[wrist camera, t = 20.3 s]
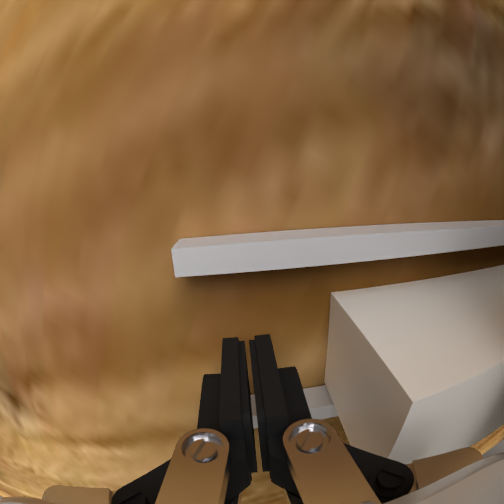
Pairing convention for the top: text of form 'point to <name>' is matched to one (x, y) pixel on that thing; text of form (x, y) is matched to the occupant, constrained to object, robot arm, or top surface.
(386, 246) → the overhang shelf
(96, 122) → the top surface
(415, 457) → the cream rectangular prism
